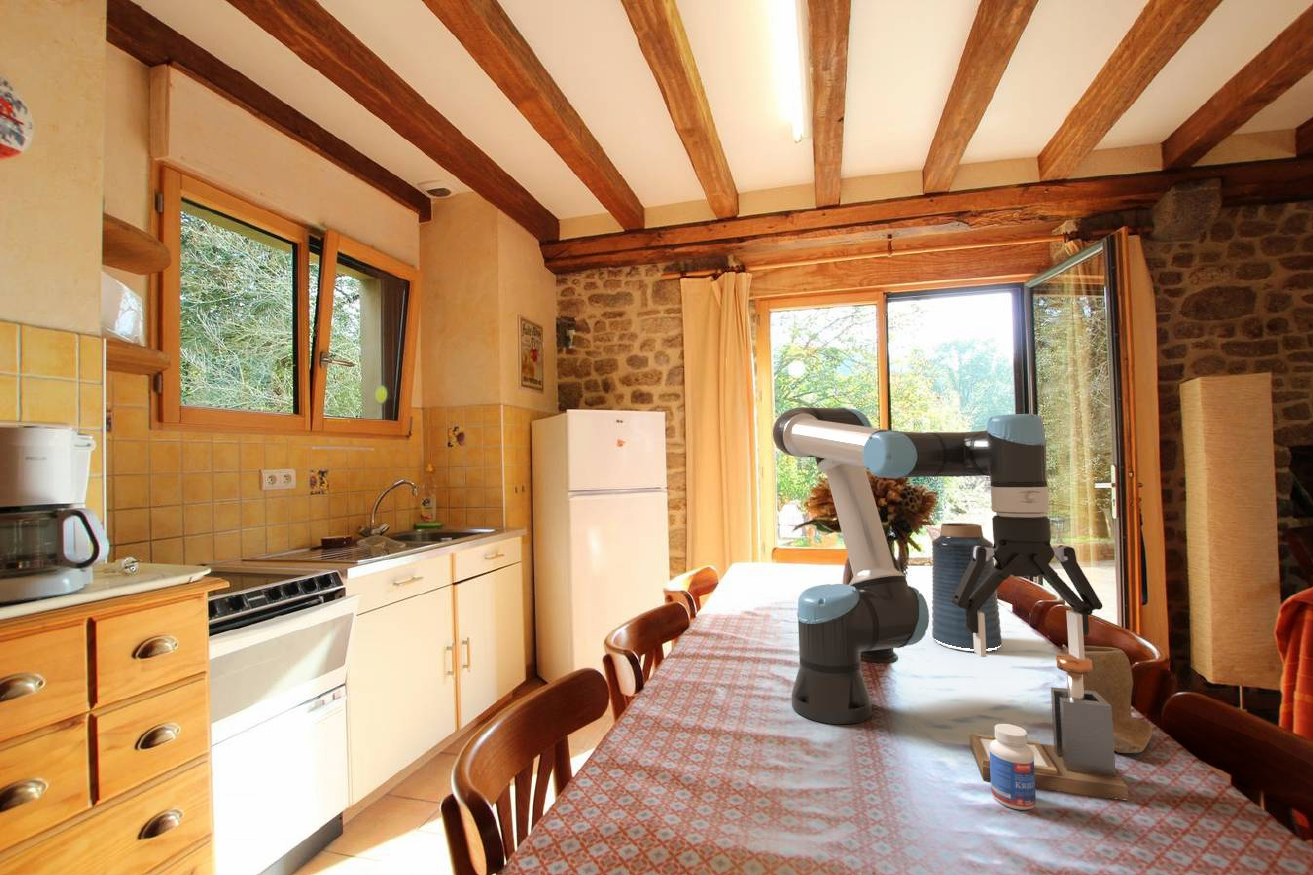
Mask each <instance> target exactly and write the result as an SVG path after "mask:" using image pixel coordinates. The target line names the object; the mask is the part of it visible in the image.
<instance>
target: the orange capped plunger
mask: <svg viewBox="0 0 1313 875" xmlns="http://www.w3.org/2000/svg"><path fill="white" fill-rule="evenodd" d="M1055 657H1056V668H1057V669H1058V670H1061V671H1063V672H1066V682H1067V683H1066V684H1067V689H1068V698H1070V699H1080V700H1084V687H1083V674H1091V673H1092V660H1090V659H1088V658H1086V657H1085V659H1078V658H1076V657H1074V656H1072V655H1070V654H1064V653H1060V654H1056V656H1055Z"/></svg>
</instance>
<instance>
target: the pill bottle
mask: <svg viewBox="0 0 1313 875" xmlns="http://www.w3.org/2000/svg"><path fill="white" fill-rule="evenodd" d="M994 736H995V738H996V739H995V740H993V741H992V742H991V743H990V774H991V781H990V790H991V796H992V797H993V799H994V801H995V800H996V802H998V803H999V804H1001V805H1003V806H1005V807H1007V808H1010V809H1014V810H1019V811H1020V810H1021V811H1023V810H1024V811H1025V810H1026V811H1028V810H1033V809H1034V808H1035V807H1036V802H1037V800H1036V799H1037V798H1036V788H1035V773H1034V754H1033V752H1032V750H1031V749H1030V748H1029V747H1028V746H1027V745H1026V744H1027V742H1028V740H1029V739H1028V732H1027V730H1025V729H1024V728H1022V727H1020V726H1018V725H1013V724H1009V723H997V724H995V726H994Z"/></svg>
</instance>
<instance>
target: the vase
mask: <svg viewBox="0 0 1313 875" xmlns="http://www.w3.org/2000/svg"><path fill="white" fill-rule="evenodd" d="M982 528H983V527H982V525H981V524H978V523H976V524H975V523H965V522H963V523H961V522H960V523H959V522H956V523H955V522H954V523H951V522H948V523H941V525H940V535H939V536H937V537H936V538H935V539H933V540H932V541H931V543H932V544H931V546H932V548H931V550H932V551H931V552H932V556H931V558H932V560H931V561H932V564H931V565H932V568H931V569H932V573H931V574H932V576H931V577H932V584H931V585H932V588H931V590H932V593H931V594H932V600H931V602H932V603H931V604H932V607H931V610H932V614H931V618H932V621H931V624H932V625H931V626H932V630H931V631H932V633H931V634H932V635H931V636H932V639H933V638H934V639H936V640H938V641H940V642H942V643H945V644H948V645H952V646H956V647H961V648H970V649H974V641H973V633H971V632H970V631H968V629H967V626H966V610H965V609H964V608H960V607H959V606H957V605H955V604H954V603H953V602H952V598H953V596H954V594H955V592H956V590H957V588H958V586H959V584H960V581H961V579H962V577H963V575H964V573H965V571H966V569H967V567H968V565H969V563H970V560H971V553H972V547H973V546H974V545H977V546H981V547H984V548H992V547H993V545H994V542H991V540H988V539H987V538H986V537H984V534H983V529H982ZM994 565H995V559H994V557H993V556H991V557H990V558H989V560H988V561H986V563H985V566H984V568H983V571H982V573H981V575H980V577H979V579H978V581H977V583H976V585H975V587H974V589H973V592H974V591H975V590H976V589H977V588H978V586H979V585H980V584H981V583H982V582H983V580H984V579H985V578H986V577H987V576H988V575H989V573H990V572H991V569H992V568H993V567H994ZM997 589H998V588H997ZM997 589H996V590H995V591H994V593H993V594H992V595H991V596H990V597H989V599H988V600H987V601H986V602H985V603H984V604H983V606H982V607H981V608H980V609H979V611H981V612H983V613H984V616H985V636H986V649H988V648H995V647H998V646H1000V645H1001V644H1003V642H1002V640H1003V639H1002V635H1001V632H1002V630H1001V620H1000V611H999V610H1000V608H999V607H1000V606H999V601H998V590H997ZM973 592H972V593H973ZM971 595H972V594H971ZM934 639H933V640H934ZM1001 646H1002V645H1001Z"/></svg>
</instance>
